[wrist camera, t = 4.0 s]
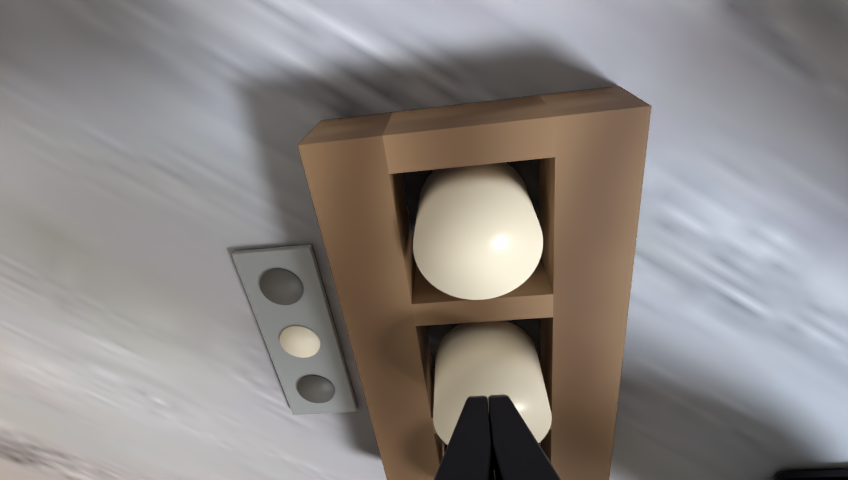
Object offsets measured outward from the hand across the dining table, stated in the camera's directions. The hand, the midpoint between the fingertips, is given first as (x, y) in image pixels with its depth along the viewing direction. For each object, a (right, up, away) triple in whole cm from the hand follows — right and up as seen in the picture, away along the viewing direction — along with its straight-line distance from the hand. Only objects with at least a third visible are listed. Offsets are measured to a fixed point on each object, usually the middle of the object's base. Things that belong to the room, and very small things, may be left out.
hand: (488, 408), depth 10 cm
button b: (+1, -2, +10) cm, 11 cm away
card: (-7, -1, +13) cm, 15 cm away
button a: (+1, +5, +9) cm, 10 cm away
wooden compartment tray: (+2, -1, +12) cm, 12 cm away
